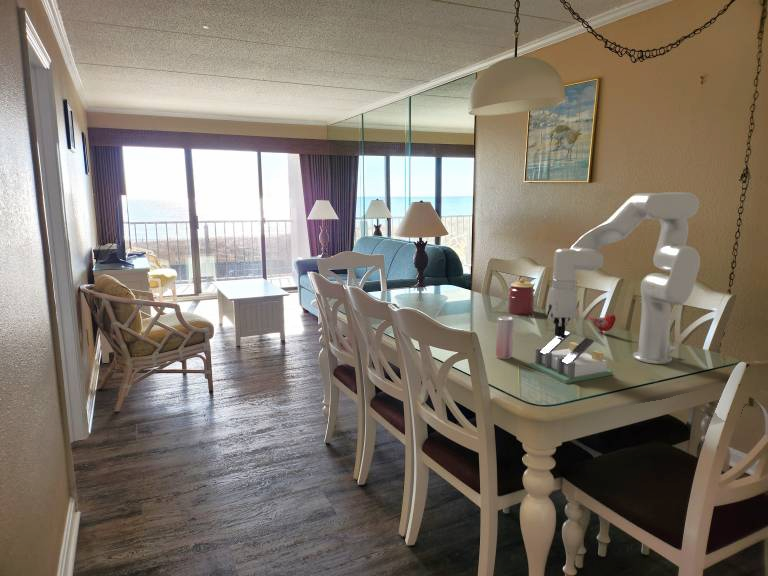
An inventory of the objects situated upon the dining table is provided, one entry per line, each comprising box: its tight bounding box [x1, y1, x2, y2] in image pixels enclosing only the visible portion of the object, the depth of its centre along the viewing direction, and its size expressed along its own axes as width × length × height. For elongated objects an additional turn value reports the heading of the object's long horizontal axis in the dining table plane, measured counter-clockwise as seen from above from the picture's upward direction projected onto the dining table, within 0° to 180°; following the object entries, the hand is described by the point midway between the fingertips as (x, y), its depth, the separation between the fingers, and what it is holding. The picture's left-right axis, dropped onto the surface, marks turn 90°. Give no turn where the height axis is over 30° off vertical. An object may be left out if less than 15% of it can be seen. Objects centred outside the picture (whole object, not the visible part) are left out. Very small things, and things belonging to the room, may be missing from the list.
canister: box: [507, 277, 536, 316], centre depth 262 cm, size 13×13×18 cm
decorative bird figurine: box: [586, 313, 617, 336], centre depth 222 cm, size 3×18×10 cm, turn 19°
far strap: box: [540, 330, 571, 355], centre depth 180 cm, size 12×3×1 cm
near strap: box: [562, 337, 595, 365], centre depth 170 cm, size 12×3×1 cm
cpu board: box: [529, 341, 614, 384], centre depth 177 cm, size 20×18×7 cm
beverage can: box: [495, 316, 514, 360], centre depth 191 cm, size 6×6×15 cm
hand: (559, 336), depth 180 cm, fingers closed
